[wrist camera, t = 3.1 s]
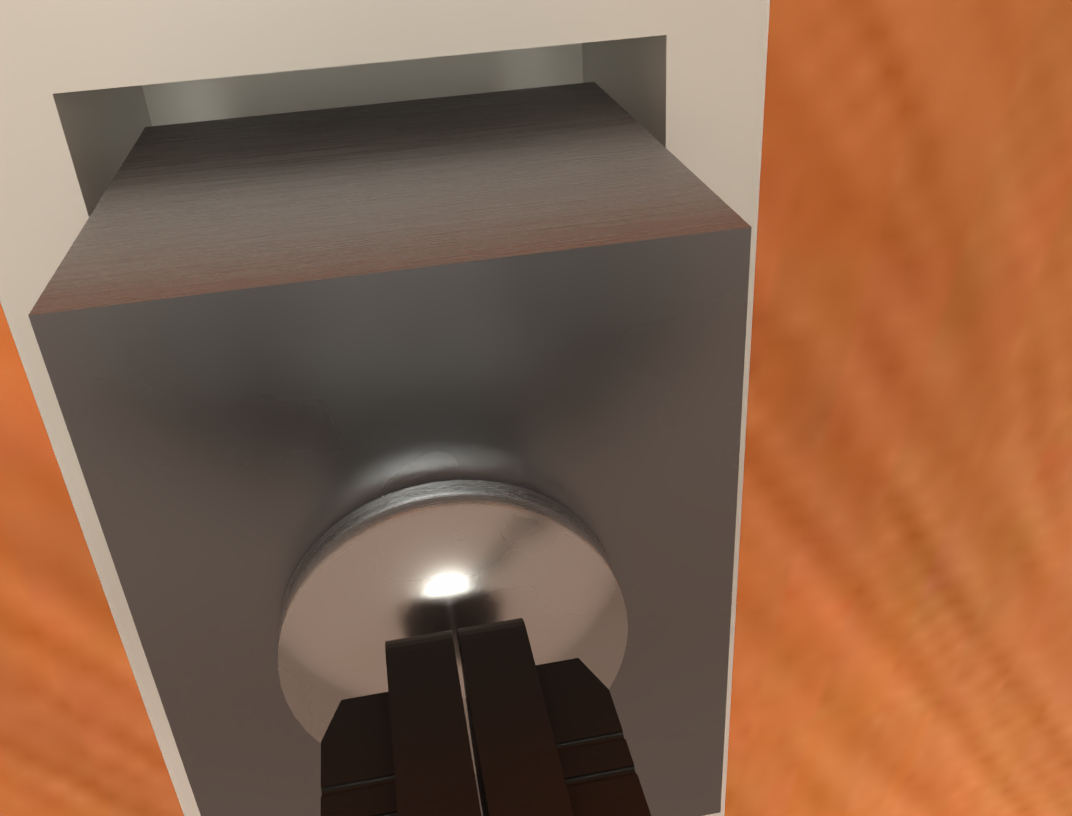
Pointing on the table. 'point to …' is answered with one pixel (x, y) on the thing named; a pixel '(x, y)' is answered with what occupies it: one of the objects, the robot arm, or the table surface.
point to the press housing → (321, 83)
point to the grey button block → (410, 417)
